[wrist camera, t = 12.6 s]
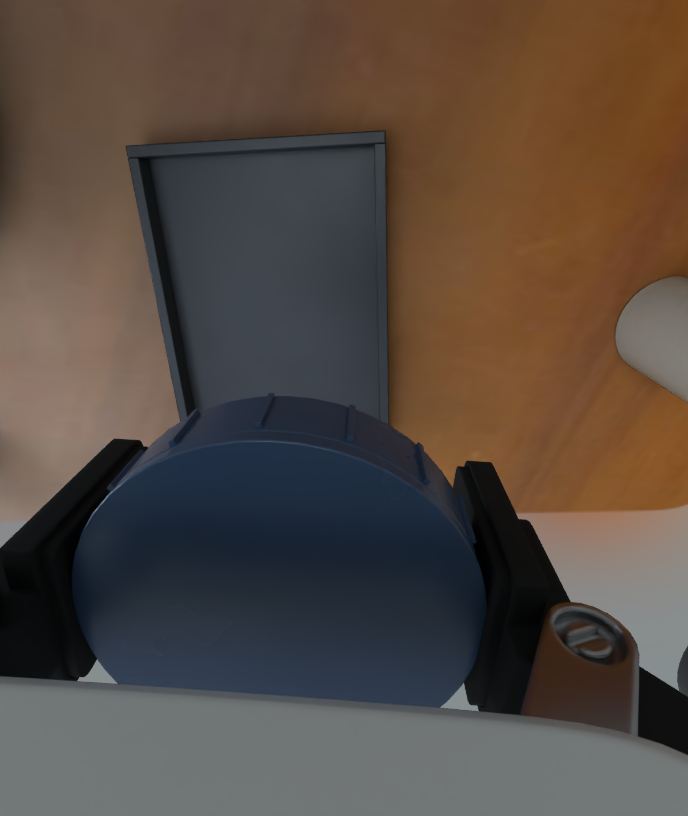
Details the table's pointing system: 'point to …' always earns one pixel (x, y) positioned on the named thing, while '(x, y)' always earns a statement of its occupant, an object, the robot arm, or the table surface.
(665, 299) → the jar
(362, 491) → the jar lid
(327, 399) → the tray
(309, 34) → the table surface
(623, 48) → the table surface
